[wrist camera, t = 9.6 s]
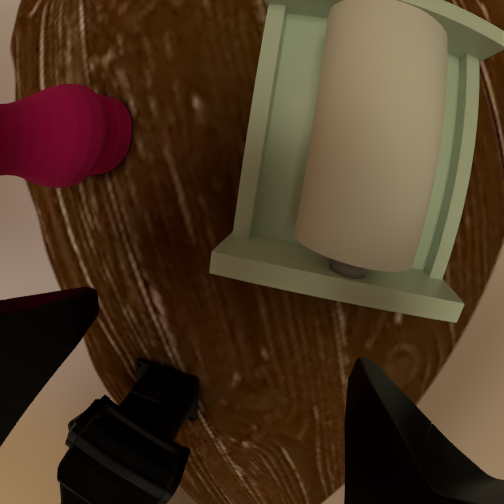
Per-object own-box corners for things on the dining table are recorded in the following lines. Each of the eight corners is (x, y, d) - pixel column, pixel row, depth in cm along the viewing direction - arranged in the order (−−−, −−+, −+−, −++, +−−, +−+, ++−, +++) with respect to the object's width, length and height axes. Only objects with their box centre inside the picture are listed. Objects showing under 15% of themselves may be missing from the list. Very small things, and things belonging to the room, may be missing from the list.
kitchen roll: (326, 30, 14) (331, -22, 8) (424, 57, 13) (466, 21, 7) (295, 226, 18) (287, 261, 12) (392, 247, 17) (426, 290, 11)
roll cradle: (426, 288, 19) (453, 328, 13) (235, 248, 21) (208, 280, 15) (467, 49, 13) (504, 26, 7) (273, 0, 15) (259, -42, 9)
